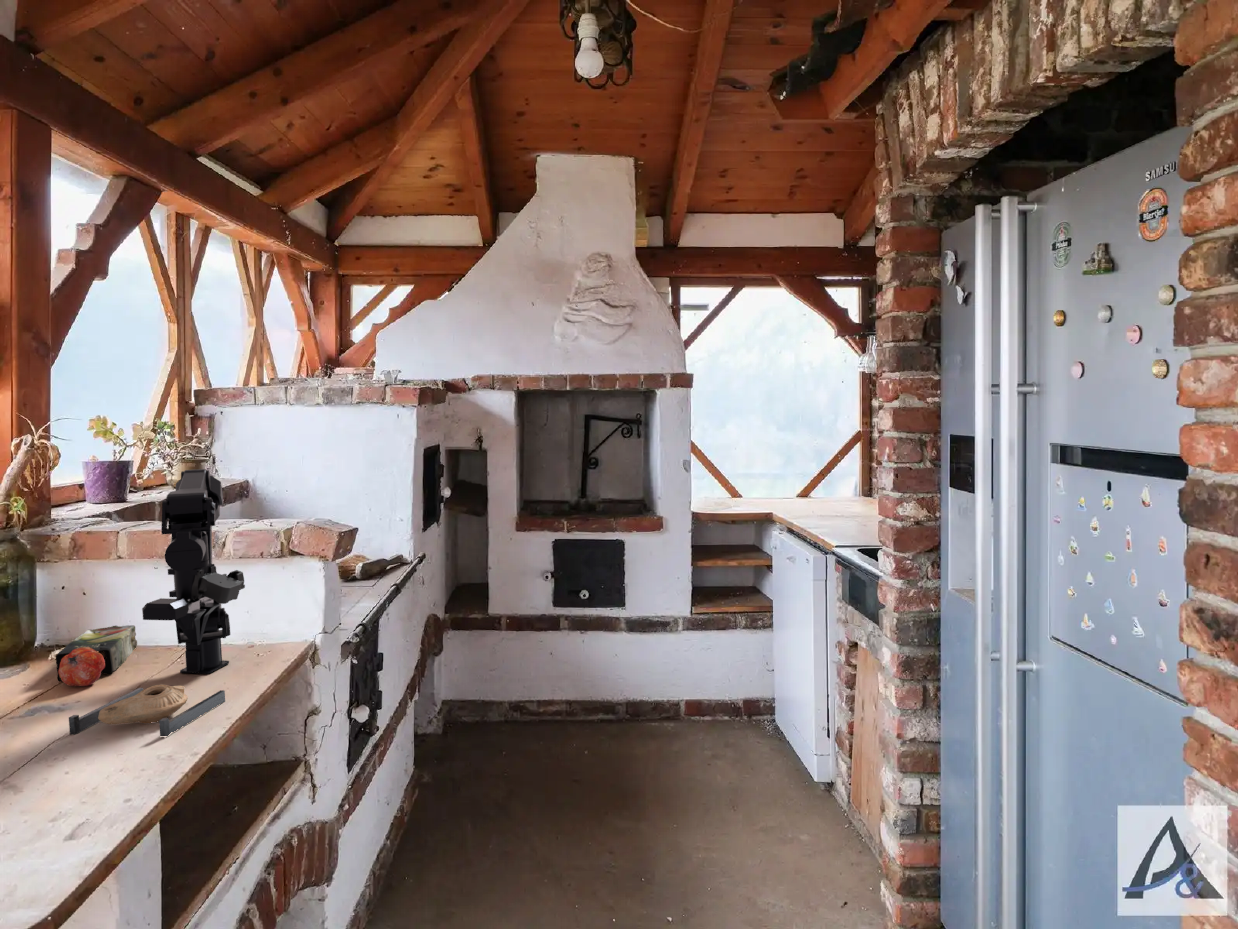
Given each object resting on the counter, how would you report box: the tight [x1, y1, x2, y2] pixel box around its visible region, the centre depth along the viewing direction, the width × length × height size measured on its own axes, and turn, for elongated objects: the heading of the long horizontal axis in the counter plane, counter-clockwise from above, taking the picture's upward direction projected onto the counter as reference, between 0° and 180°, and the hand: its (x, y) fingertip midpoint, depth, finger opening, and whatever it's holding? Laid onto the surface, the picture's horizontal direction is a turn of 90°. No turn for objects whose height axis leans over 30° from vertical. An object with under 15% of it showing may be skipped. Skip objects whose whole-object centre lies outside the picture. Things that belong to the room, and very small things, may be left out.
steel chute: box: [68, 687, 226, 737], centre depth 129 cm, size 15×17×3 cm
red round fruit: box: [58, 647, 105, 687], centre depth 145 cm, size 7×7×10 cm
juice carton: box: [55, 624, 138, 682], centre depth 158 cm, size 20×10×6 cm, turn 20°
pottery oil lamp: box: [98, 684, 189, 725], centre depth 127 cm, size 9×12×7 cm
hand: (196, 645), depth 140 cm, fingers closed
